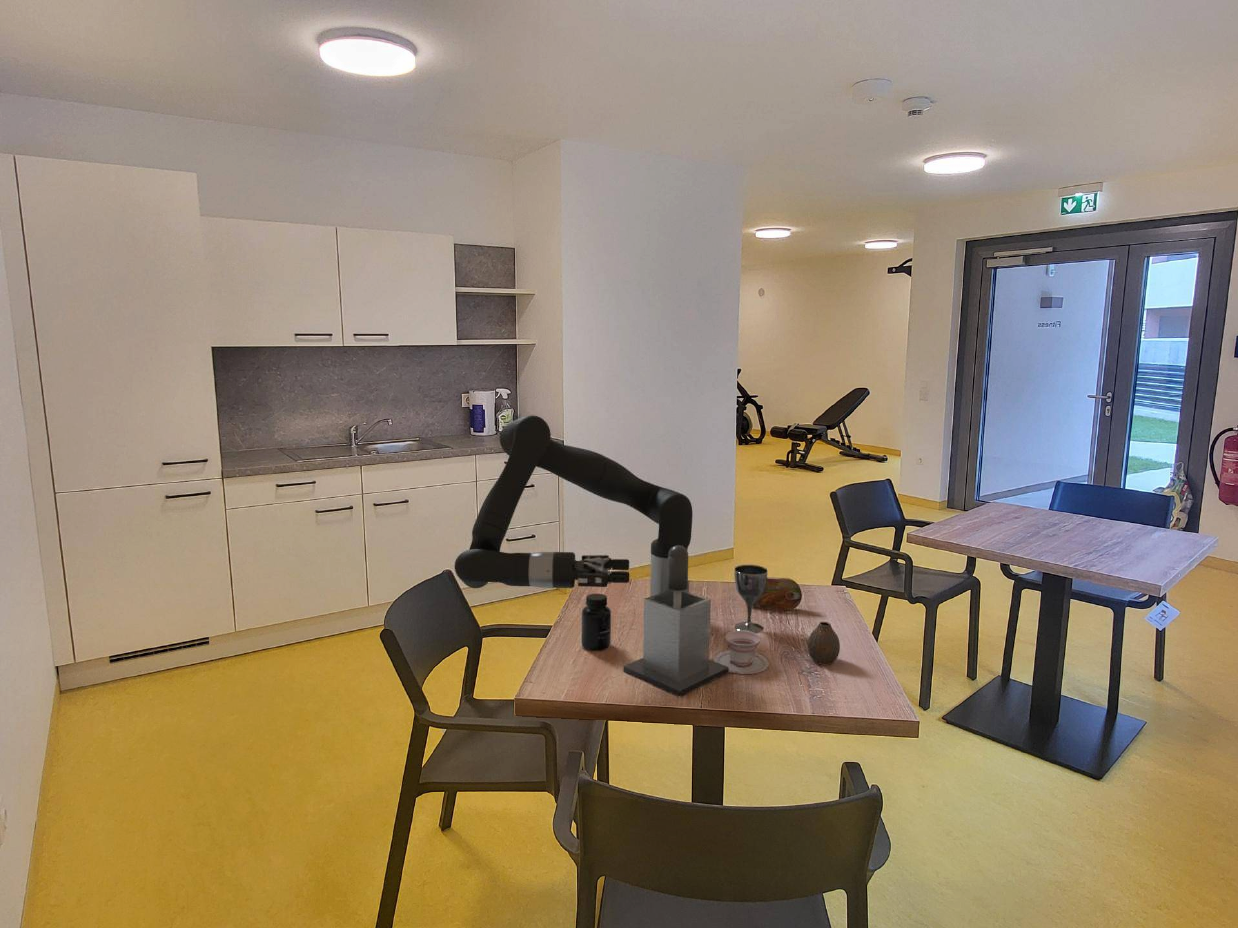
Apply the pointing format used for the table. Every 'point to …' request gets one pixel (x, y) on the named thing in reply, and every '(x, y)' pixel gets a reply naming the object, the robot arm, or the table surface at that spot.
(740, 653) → the teacup
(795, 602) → the tin
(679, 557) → the screwdriver
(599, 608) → the supplement bottle
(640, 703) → the table surface
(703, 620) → the square planter box
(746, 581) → the wine glass
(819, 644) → the vase
